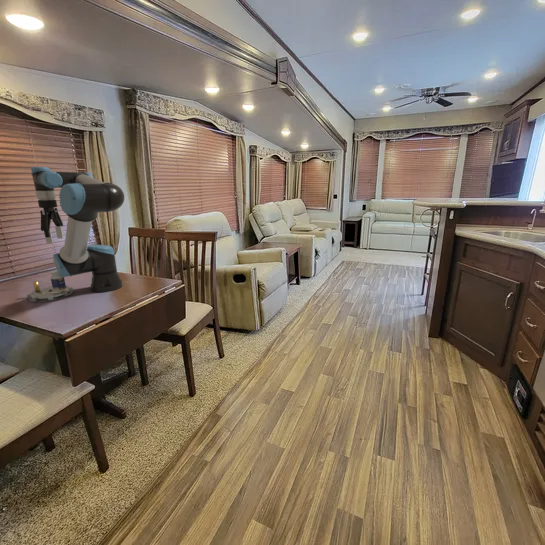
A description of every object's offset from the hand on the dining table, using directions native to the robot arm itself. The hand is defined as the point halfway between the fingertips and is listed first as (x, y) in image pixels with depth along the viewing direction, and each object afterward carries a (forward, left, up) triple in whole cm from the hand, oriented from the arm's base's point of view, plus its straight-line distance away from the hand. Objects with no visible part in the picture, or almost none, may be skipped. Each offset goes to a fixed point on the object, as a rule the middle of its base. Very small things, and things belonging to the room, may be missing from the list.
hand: (55, 240), depth 154 cm
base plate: (-6, +13, -25) cm, 29 cm away
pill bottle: (-10, +12, -23) cm, 27 cm away
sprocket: (-6, +13, -25) cm, 29 cm away
